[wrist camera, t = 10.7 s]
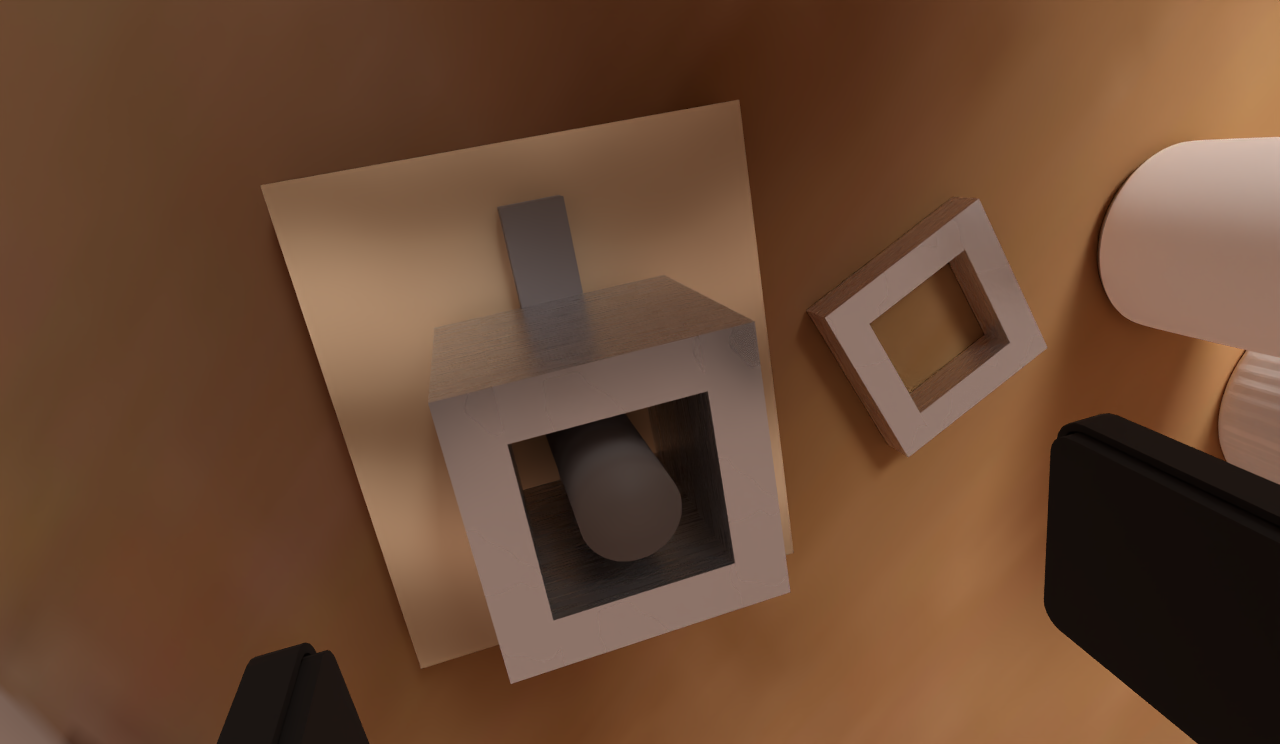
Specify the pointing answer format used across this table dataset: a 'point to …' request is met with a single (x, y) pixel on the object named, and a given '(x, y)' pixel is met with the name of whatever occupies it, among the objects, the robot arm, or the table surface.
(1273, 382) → the ramekin
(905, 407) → the link
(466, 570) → the base
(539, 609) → the link
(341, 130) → the table surface
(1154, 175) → the can
